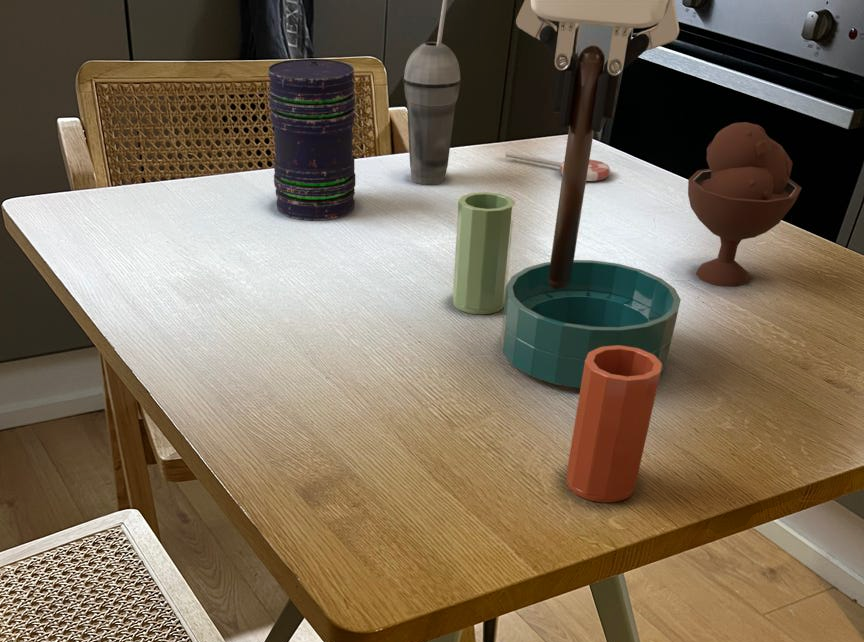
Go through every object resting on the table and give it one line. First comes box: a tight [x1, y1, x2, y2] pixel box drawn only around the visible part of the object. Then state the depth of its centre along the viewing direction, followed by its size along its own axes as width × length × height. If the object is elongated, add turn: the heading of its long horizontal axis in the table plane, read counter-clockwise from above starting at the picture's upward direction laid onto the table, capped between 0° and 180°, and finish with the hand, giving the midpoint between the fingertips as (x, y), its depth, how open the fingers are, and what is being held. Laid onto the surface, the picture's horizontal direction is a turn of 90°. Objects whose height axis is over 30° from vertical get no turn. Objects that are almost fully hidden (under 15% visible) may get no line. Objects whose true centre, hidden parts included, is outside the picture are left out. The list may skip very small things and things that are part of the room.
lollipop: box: [505, 151, 611, 182], centre depth 130 cm, size 7×1×15 cm
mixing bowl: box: [500, 259, 682, 389], centre depth 88 cm, size 15×15×6 cm
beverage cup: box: [402, 0, 462, 186], centre depth 120 cm, size 7×7×20 cm
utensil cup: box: [565, 345, 662, 504], centre depth 71 cm, size 5×5×10 cm
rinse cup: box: [452, 191, 516, 315], centre depth 95 cm, size 5×5×10 cm
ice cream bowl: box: [687, 121, 802, 287], centre depth 99 cm, size 11×11×15 cm
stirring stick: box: [548, 44, 606, 290], centre depth 80 cm, size 2×2×19 cm
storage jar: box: [267, 58, 356, 221], centre depth 114 cm, size 10×10×15 cm
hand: (582, 123), depth 78 cm, fingers closed on stirring stick, 2 cm apart
